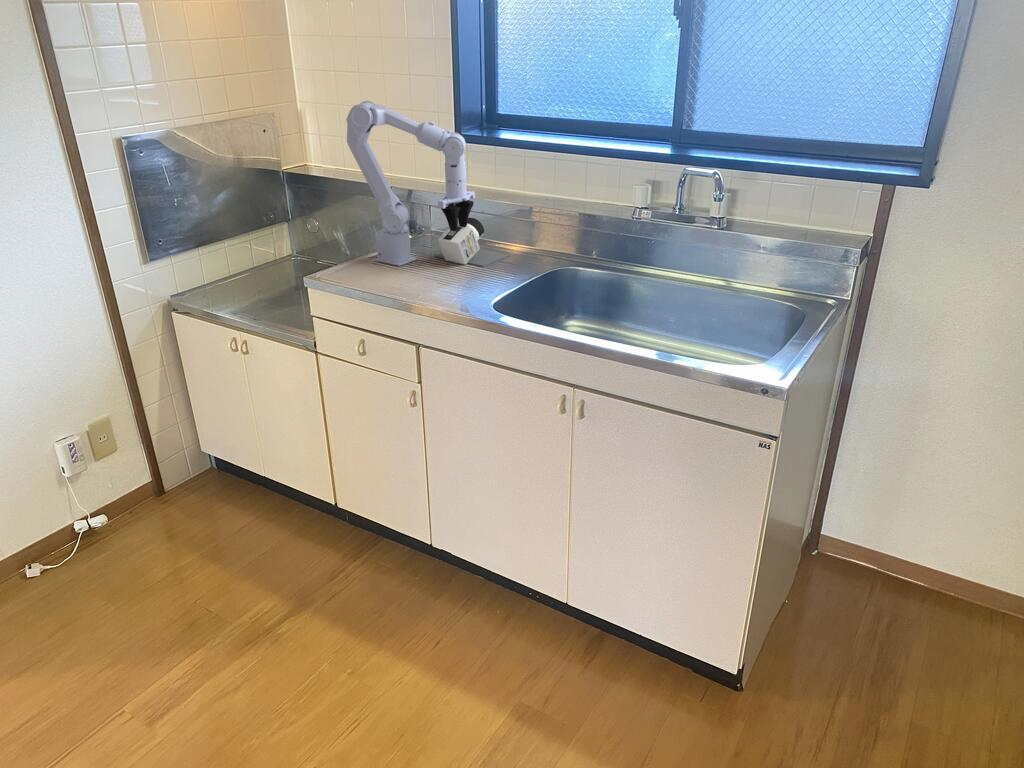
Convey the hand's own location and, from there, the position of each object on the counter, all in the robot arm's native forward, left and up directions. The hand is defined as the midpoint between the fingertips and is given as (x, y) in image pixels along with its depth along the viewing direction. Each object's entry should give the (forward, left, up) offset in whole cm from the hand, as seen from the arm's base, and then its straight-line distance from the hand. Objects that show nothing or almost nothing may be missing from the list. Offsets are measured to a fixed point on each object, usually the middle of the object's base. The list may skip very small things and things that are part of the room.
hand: (458, 228), depth 220 cm
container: (0, -3, -6) cm, 7 cm away
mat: (0, +7, -10) cm, 12 cm away
